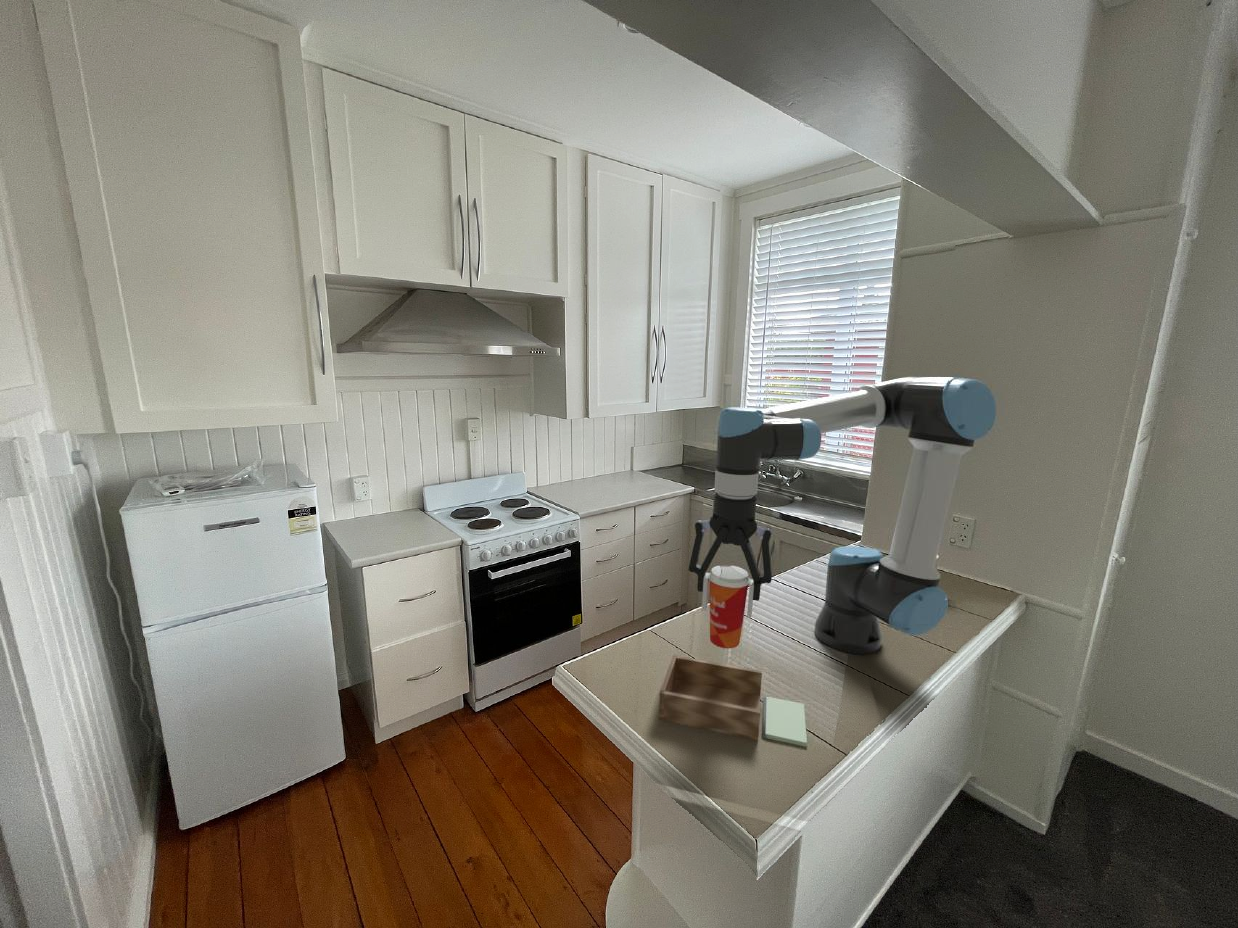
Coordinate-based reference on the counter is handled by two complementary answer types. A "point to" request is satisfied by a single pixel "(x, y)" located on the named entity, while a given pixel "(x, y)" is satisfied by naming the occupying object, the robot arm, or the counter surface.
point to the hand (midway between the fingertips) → (726, 610)
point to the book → (784, 721)
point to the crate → (712, 696)
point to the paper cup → (727, 604)
